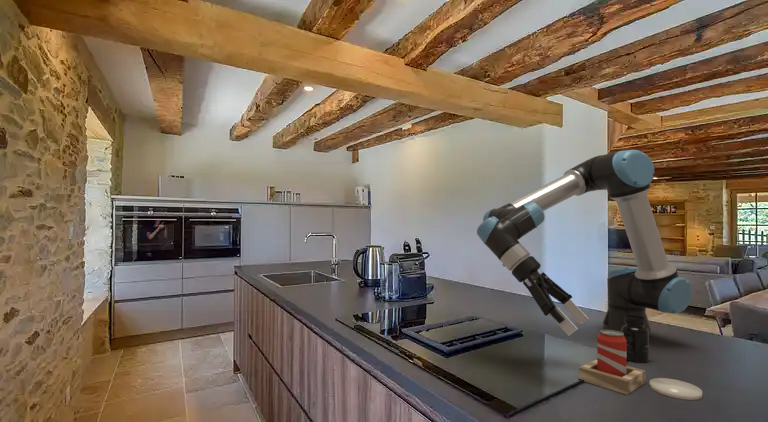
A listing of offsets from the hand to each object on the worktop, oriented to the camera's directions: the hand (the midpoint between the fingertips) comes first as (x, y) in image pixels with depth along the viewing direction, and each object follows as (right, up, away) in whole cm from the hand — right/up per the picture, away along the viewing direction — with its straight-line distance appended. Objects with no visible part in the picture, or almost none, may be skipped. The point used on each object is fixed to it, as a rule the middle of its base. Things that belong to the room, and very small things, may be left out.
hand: (579, 327), depth 104 cm
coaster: (+18, -12, -9) cm, 24 cm away
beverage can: (+6, -12, -4) cm, 14 cm away
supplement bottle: (+22, -13, +13) cm, 29 cm away
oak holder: (+6, -12, -4) cm, 14 cm away
